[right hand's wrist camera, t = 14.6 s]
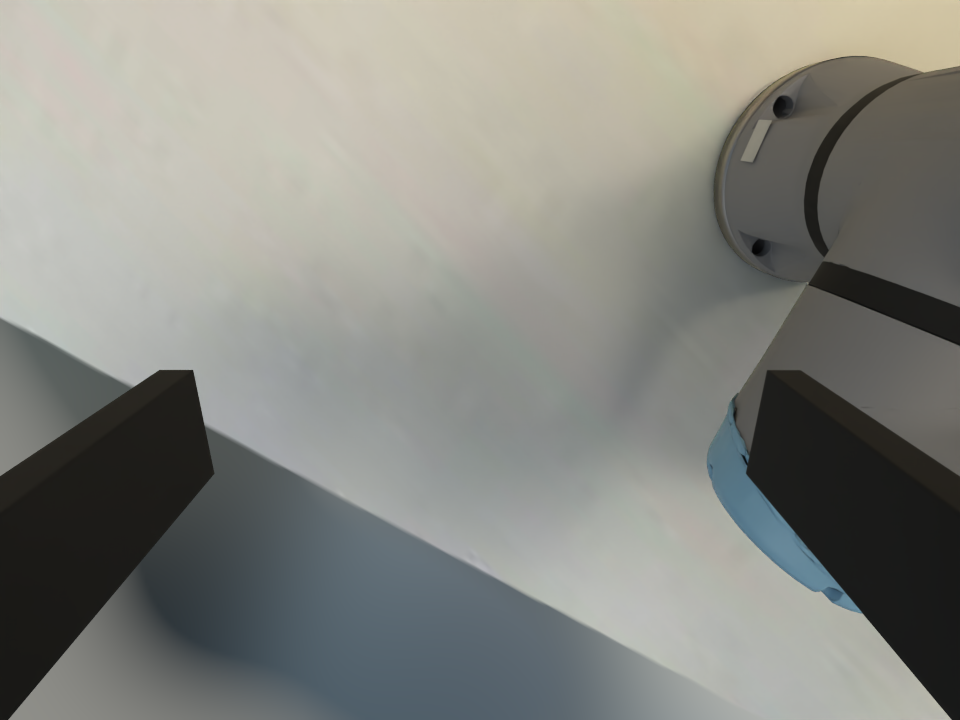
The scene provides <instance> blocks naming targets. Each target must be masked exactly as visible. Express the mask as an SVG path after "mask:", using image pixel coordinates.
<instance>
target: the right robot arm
mask: <svg viewBox="0 0 960 720" xmlns="http://www.w3.org/2000/svg"><path fill="white" fill-rule="evenodd" d="M714 204H715V212H716V216H717V220H718V223H719V226H720V229H721V231H722V233H723V235H724V237H725V239H726V241H727V242H728V244H729V245H730V247H731V248H732V249H733V250H734V252H735V253H736V254H737V255H738V256H739V257H740V258H741V259H743V260H744V261H745V262H746V263H748V264H749V265H751V266H753V267H754V268H756V269H758V270H760V271H763V272H765V273H767V274H770V275H772V276H775V277H778V278H781V279H785V280H789V281H796V282H809V284H808V285H807V286H806V287H805V289H804V291H803V292H802V294H801V295H800V297H799V299H798V300H797V302H796V304H795V305H794V307H793V308H792V310H791V312H790V313H789V315H788V316H787V318H786V320H785V321H784V323H783V325H782V326H781V328H780V329H779V331H778V333H777V334H776V336H775V338H774V339H773V341H772V342H771V344H770V346H769V347H768V349H767V350H766V352H765V354H764V355H763V357H762V359H761V360H760V362H759V363H758V365H757V366H756V368H755V369H754V371H753V372H752V374H751V376H750V377H749V379H748V380H747V382H746V383H745V385H744V386H743V388H742V389H741V391H740V393H737V394H736V395H735V396H734V397H733V398H732V400H731V401H730V403H729V406H728V412H727V415H726V417H725V419H724V421H723V423H722V425H721V427H720V429H719V430H718V432H717V434H716V436H715V437H714V439H713V441H712V443H711V445H710V447H709V451H708V455H707V467H708V472H709V476H710V479H711V480H712V485H713V488H714V490H715V493H716V495H717V497H718V498H719V500H720V502H721V503H722V505H723V506H724V508H725V509H726V511H727V512H728V514H729V515H730V516H731V518H732V519H733V520H734V522H735V523H736V524H737V525H738V526H739V528H740V529H741V530H742V531H743V532H744V533H745V534H746V535H747V536H748V538H749V539H750V540H751V541H752V542H753V543H754V544H755V545H756V546H757V547H758V548H759V549H760V550H761V551H762V552H763V553H764V554H766V555H767V556H768V557H769V558H770V559H771V560H772V561H773V562H774V563H775V564H777V565H778V566H779V567H780V568H781V569H783V570H784V571H785V572H786V573H788V574H789V575H790V576H791V577H793V578H794V579H796V580H797V581H798V582H800V583H801V584H803V585H804V586H805V587H807V588H809V589H810V590H812V591H814V592H819V591H822V592H823V593H824V594H825V595H826V597H827V598H828V599H829V600H830V601H831V602H832V603H834V604H836V605H838V606H841V607H843V608H845V609H848V610H850V611H854V612H858V613H863V614H864V615H865V617H866V618H867V619H868V620H869V621H870V623H871V624H872V625H873V626H874V627H875V629H876V630H877V631H878V632H879V633H880V635H881V636H882V637H883V638H884V639H885V641H886V642H887V643H888V644H889V645H890V646H891V648H892V649H893V650H894V651H895V652H896V654H897V655H898V656H899V657H900V658H901V660H902V661H903V662H904V663H905V664H906V666H907V667H908V668H909V669H910V670H911V672H912V673H913V674H914V675H915V676H916V678H917V679H918V680H919V681H920V682H921V683H922V685H923V686H924V687H925V688H926V689H927V691H928V692H929V693H930V694H931V695H932V697H933V698H934V699H935V700H936V701H937V703H938V704H939V705H940V706H941V707H942V709H943V710H944V711H945V712H946V713H947V715H948V716H949V717H950V718H951V719H952V720H960V66H958V67H953V68H947V69H942V70H936V71H931V72H926V73H923V72H920V71H917V70H914V69H911V68H908V67H905V66H902V65H899V64H896V63H893V62H890V61H887V60H883V59H878V58H874V57H866V56H849V57H841V58H836V59H831V60H827V61H823V62H819V63H815V64H812V65H809V66H806V67H803V68H801V69H798V70H796V71H794V72H792V73H790V74H788V75H786V76H784V77H783V78H781V79H780V80H778V81H776V82H775V83H773V84H772V85H771V86H770V87H768V88H767V89H766V90H764V91H763V92H762V93H761V94H760V95H759V96H758V97H757V98H756V99H755V100H754V101H753V102H752V103H751V104H750V105H749V106H748V107H747V109H746V110H745V111H744V112H743V114H742V115H741V116H740V118H739V119H738V121H737V122H736V124H735V125H734V127H733V128H732V130H731V132H730V134H729V136H728V138H727V140H726V142H725V144H724V147H723V149H722V152H721V155H720V158H719V161H718V165H717V169H716V175H715V181H714ZM213 475H214V470H213V465H212V460H211V455H210V450H209V445H208V440H207V435H206V431H205V426H204V421H203V416H202V411H201V406H200V401H199V397H198V392H197V387H196V382H195V377H194V372H193V370H159V371H157V372H156V373H154V374H153V375H151V376H150V377H148V378H147V379H145V380H144V381H142V382H141V383H139V384H138V385H136V386H135V387H133V388H132V389H130V390H129V391H127V392H126V393H124V394H123V395H121V396H120V397H118V398H117V399H115V400H114V401H112V402H111V403H109V404H108V405H106V406H105V407H103V408H102V409H100V410H99V411H97V412H96V413H94V414H93V415H91V416H90V417H88V418H87V419H85V420H84V421H82V422H81V423H79V424H78V425H76V426H75V427H73V428H72V429H70V430H69V431H67V432H66V433H64V434H63V435H61V436H60V437H58V438H57V439H55V440H54V441H52V442H51V443H49V444H48V445H46V446H45V447H43V448H42V449H40V450H39V451H37V452H36V453H34V454H33V455H31V456H30V457H28V458H27V459H25V460H24V461H22V462H21V463H19V464H18V465H16V466H15V467H13V468H12V469H10V470H9V471H7V472H6V473H4V474H3V475H1V476H0V720H8V719H9V718H10V717H11V716H12V714H13V713H14V712H15V711H16V710H17V709H18V707H19V706H20V705H21V704H22V703H23V701H24V700H25V699H26V698H27V697H28V695H29V694H30V693H31V692H32V691H33V689H34V688H35V687H36V686H37V685H38V683H39V682H40V681H41V680H42V679H43V678H44V676H45V675H46V674H47V673H48V672H49V670H50V669H51V668H52V667H53V666H54V664H55V663H56V662H57V661H58V660H59V658H60V657H61V656H62V655H63V654H64V652H65V651H66V650H67V649H68V648H69V646H70V645H71V644H72V643H73V642H74V640H75V639H76V638H77V637H78V636H79V635H80V633H81V632H82V631H83V630H84V629H85V627H86V626H87V625H88V624H89V623H90V621H91V620H92V619H93V618H94V617H95V615H96V614H97V613H98V612H99V611H100V609H101V608H102V607H103V606H104V605H105V603H106V602H107V601H108V600H109V599H110V598H111V596H112V595H113V594H114V593H115V592H116V590H117V589H118V588H119V587H120V586H121V584H122V583H123V582H124V581H125V580H126V578H127V577H128V576H129V575H130V574H131V572H132V571H133V570H134V569H135V568H136V566H137V565H138V564H139V563H140V562H141V561H142V559H143V558H144V557H145V556H146V555H147V553H148V552H149V551H150V550H151V549H152V547H153V546H154V545H155V544H156V543H157V541H158V540H159V539H160V538H161V537H162V535H163V534H164V533H165V532H166V531H167V530H168V528H169V527H170V526H171V525H172V523H173V522H174V521H175V520H176V519H177V518H178V516H179V515H180V514H181V513H182V512H183V510H184V509H185V508H186V507H187V506H188V504H189V503H190V502H191V501H192V500H193V498H194V497H195V496H196V495H197V494H198V492H199V491H200V490H201V489H202V488H203V487H204V485H205V484H206V483H207V482H208V481H209V479H210V478H211V477H212V476H213Z"/></svg>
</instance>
